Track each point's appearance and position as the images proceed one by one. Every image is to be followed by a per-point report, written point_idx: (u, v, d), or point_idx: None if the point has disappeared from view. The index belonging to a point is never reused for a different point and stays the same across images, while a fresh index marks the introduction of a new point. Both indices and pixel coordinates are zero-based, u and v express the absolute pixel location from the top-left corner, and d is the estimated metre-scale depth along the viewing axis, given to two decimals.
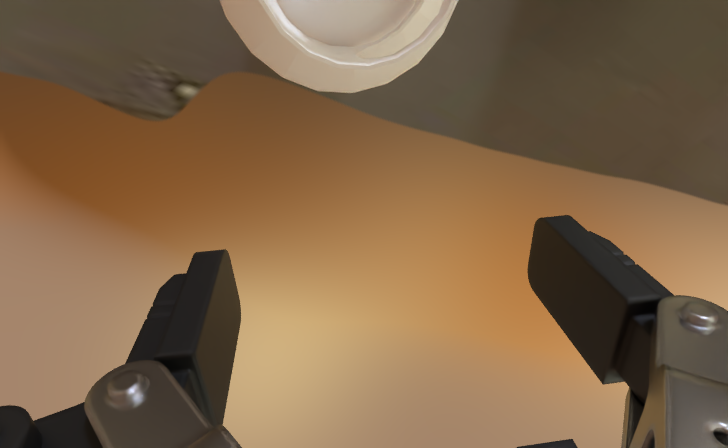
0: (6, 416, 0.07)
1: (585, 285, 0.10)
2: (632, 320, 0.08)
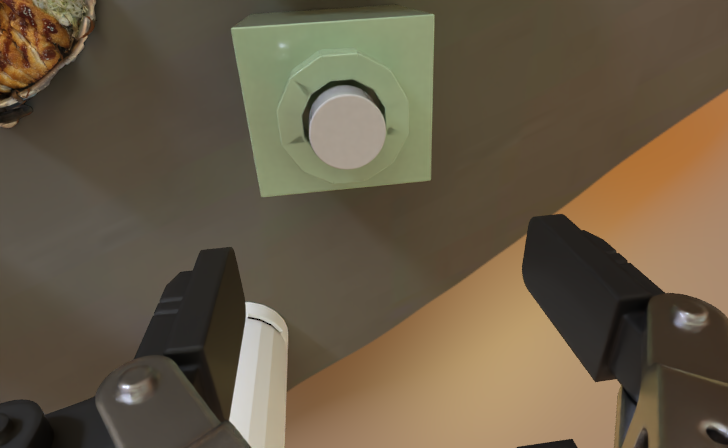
0: (17, 411, 0.07)
1: (578, 283, 0.10)
2: (623, 318, 0.09)
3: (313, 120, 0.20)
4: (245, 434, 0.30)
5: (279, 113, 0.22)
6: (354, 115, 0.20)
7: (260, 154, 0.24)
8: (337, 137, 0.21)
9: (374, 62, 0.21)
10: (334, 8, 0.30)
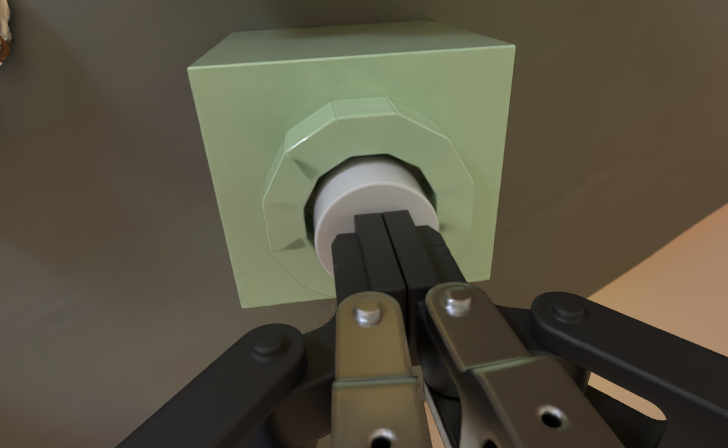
0: (291, 337, 0.08)
1: None
2: (416, 305, 0.09)
3: (322, 223, 0.12)
4: None
5: (266, 206, 0.13)
6: None
7: (239, 251, 0.16)
8: None
9: (424, 127, 0.13)
10: None
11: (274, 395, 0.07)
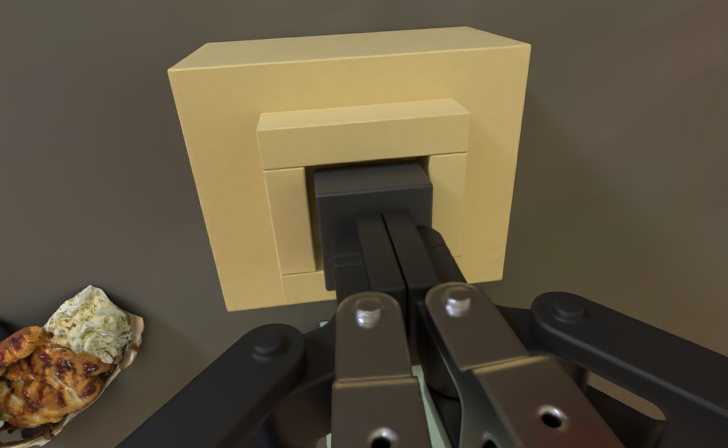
0: (290, 337, 0.08)
1: None
2: (416, 305, 0.09)
3: None
4: None
5: None
6: None
7: None
8: None
9: None
10: None
11: (274, 395, 0.07)
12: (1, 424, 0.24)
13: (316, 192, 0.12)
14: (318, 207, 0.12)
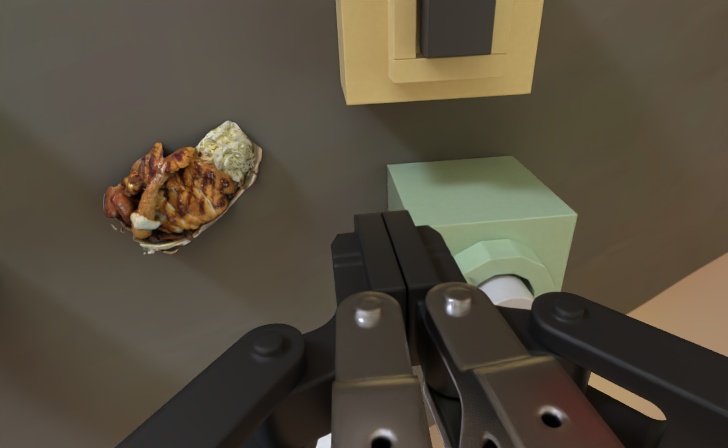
0: (290, 337, 0.08)
1: None
2: (416, 305, 0.09)
3: None
4: None
5: None
6: None
7: None
8: None
9: (533, 261, 0.25)
10: (459, 159, 0.35)
11: (274, 395, 0.07)
12: (158, 224, 0.33)
13: None
14: None
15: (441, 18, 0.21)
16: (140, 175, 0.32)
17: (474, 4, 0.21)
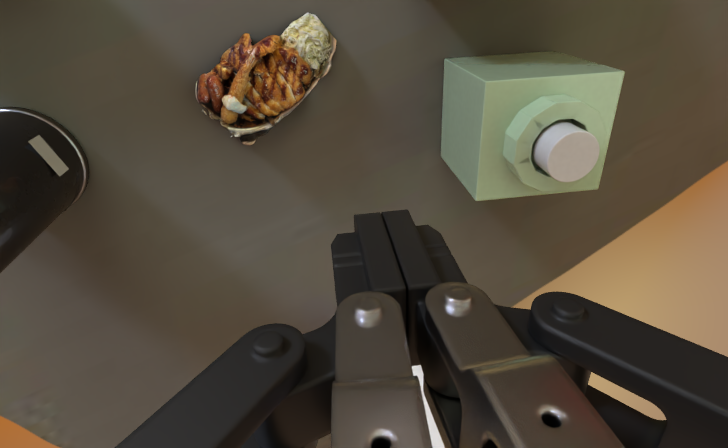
0: (290, 337, 0.08)
1: None
2: (417, 305, 0.09)
3: (553, 148, 0.29)
4: None
5: (518, 142, 0.30)
6: (581, 144, 0.29)
7: (483, 169, 0.33)
8: (566, 159, 0.29)
9: (590, 107, 0.30)
10: (507, 54, 0.39)
11: (274, 395, 0.07)
12: (245, 108, 0.37)
13: None
14: None
15: None
16: (230, 62, 0.36)
17: None
